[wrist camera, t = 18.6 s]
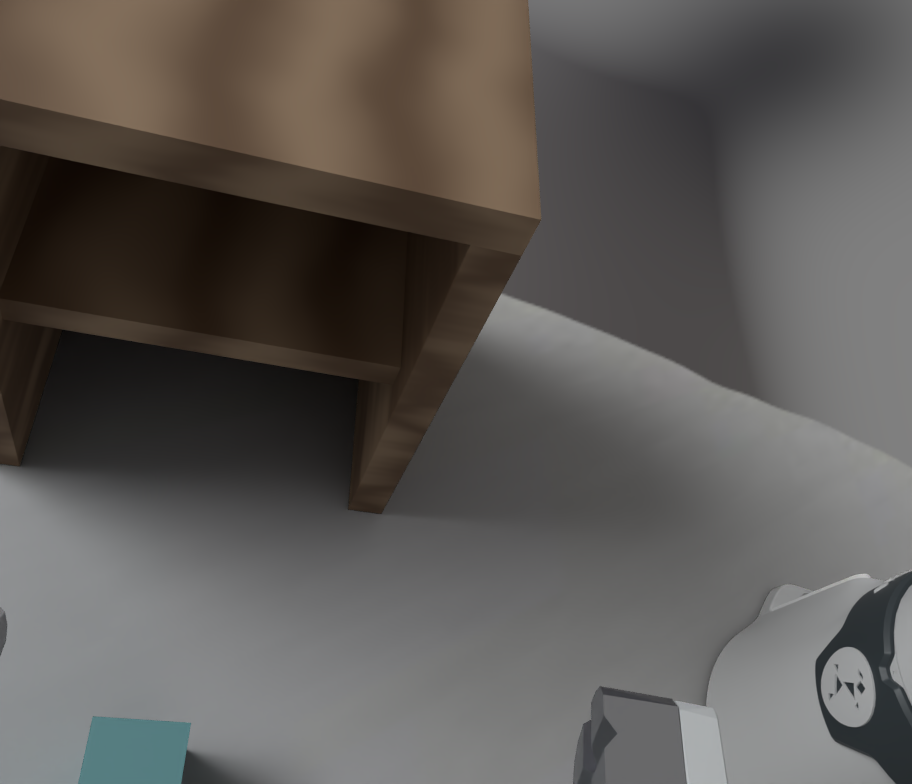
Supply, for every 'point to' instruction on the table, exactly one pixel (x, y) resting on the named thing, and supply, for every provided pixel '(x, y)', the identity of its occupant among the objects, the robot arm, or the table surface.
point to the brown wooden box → (266, 192)
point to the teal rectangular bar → (134, 752)
